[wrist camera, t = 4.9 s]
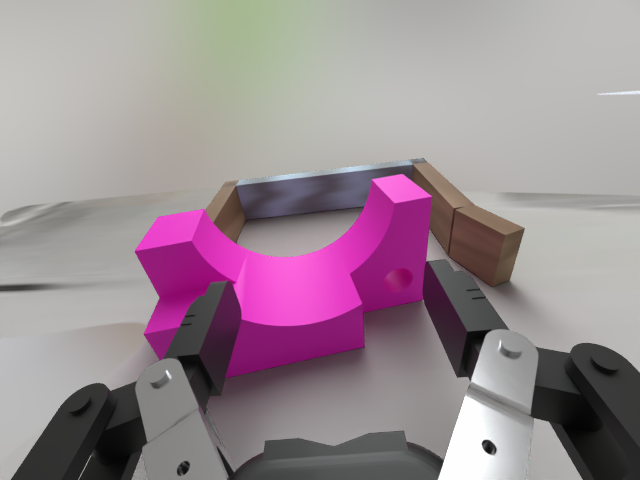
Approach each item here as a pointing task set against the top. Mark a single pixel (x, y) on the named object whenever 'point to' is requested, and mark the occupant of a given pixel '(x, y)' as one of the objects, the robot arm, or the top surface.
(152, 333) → the magenta saddle bracket
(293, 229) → the top surface
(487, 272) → the cradle
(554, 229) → the top surface
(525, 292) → the top surface
